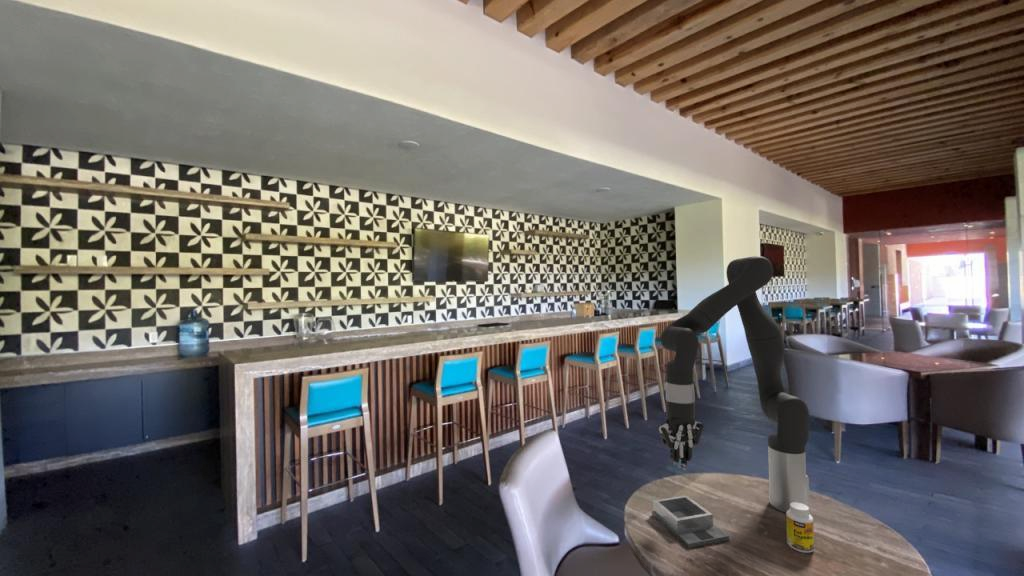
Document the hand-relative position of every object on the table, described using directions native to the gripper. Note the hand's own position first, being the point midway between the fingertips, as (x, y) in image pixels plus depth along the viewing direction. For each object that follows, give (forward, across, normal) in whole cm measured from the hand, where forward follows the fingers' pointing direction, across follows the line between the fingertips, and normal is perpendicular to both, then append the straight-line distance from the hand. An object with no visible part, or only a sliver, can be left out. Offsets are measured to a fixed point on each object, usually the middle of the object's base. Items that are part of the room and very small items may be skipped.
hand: (681, 460), depth 114 cm
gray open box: (+17, 0, +2) cm, 18 cm away
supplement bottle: (+17, -21, +18) cm, 32 cm away
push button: (+2, 0, 0) cm, 2 cm away
